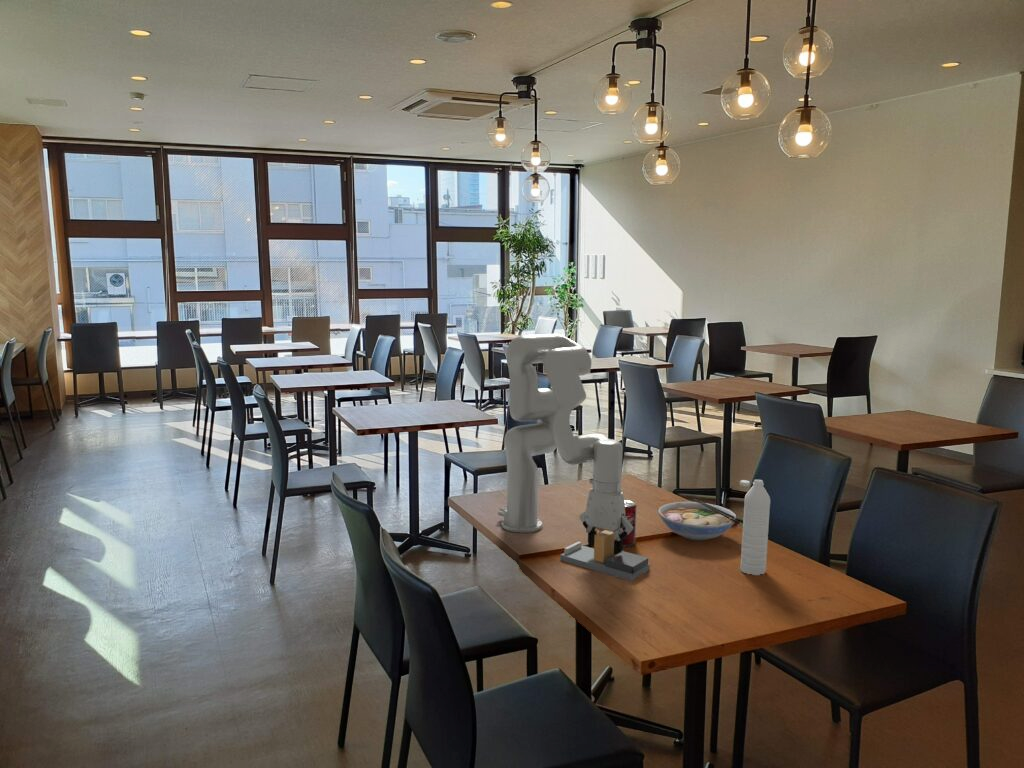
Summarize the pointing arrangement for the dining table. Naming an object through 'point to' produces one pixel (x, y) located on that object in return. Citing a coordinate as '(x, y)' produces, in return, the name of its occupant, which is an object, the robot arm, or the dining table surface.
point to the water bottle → (755, 529)
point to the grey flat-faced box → (626, 562)
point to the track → (586, 559)
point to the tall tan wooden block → (603, 545)
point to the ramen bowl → (697, 519)
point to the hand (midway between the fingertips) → (604, 549)
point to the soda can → (631, 517)
